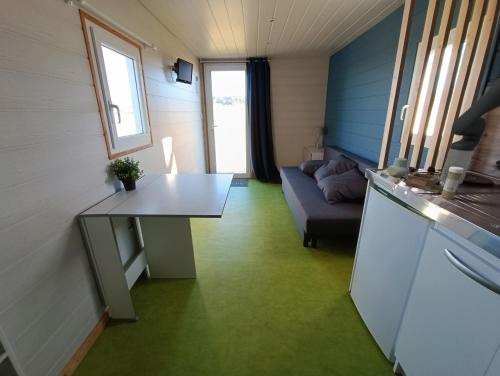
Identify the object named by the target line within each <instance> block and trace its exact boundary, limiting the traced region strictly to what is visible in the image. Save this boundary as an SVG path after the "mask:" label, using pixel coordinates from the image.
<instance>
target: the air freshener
mask: <svg viewBox="0 0 500 376" xmlns="http://www.w3.org/2000/svg"><path fill="white" fill-rule="evenodd" d="M407 162H408V159H407V158H405V157H395V158H394V161H393V164H391V165H389V166H388V167H387V169H386V171H387V174H389V175H390V176H392V177H394V178H404V177H403V176H405V177H407V176H408V175H410V174H411V171H410V169H409V168H408V166H407ZM406 175H407V176H406Z"/></svg>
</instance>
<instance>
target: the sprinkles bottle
mask: <svg viewBox="0 0 500 376" xmlns="http://www.w3.org/2000/svg"><path fill="white" fill-rule="evenodd" d="M463 171H464V169H463V168H460V167H450V168H449V173H448V176H447V179H446V182H444V184H443V186H444V188H443V189H442V191H441V195H440V197H441V198H444V199H447V200H453V199H455V194H456V192H457V190H458V188H459V185H460V184H459V181H460V178H461V175H462V173H463Z"/></svg>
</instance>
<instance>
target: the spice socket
mask: <svg viewBox="0 0 500 376" xmlns="http://www.w3.org/2000/svg"><path fill="white" fill-rule="evenodd" d="M406 177H407V178H406V181H405V185H404V186H406V187H409V188H410V187H411V188H414V189H418V190H422V191H427V192H430V193H435V194H438V193H440V192H441V190H442V191H443V188H444V185H439V184H437V183H438V182H437V181H438V179H439V176H435V175H432V174H425V173H421V172H416V171H415V172H412V173H409V174H408V175H407V176H406Z"/></svg>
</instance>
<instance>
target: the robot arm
mask: <svg viewBox="0 0 500 376" xmlns="http://www.w3.org/2000/svg"><path fill="white" fill-rule="evenodd" d="M498 108H500V77H499V78H498V79H496V81H495V82H494V83H492V85H491V86H490V87H489V88H488V89H487V90H486V91H485V92H484V94H483V95H482V96H481V97H480V98H479V99H477V101H475V102H474V104H473V105H471V106H470V107H469V108H468V109H467V110H465V112H464V113H462V114H461V115H460V116H458V118H456V119H455V121H454V122H453V124H452V126H451V133H452V134H453V135H455V136H461V137H462V138H460V139H459V140H457V141H453V142H452V143H451V144H450V147H449V150H448V153H447V157H446V159H445V163H444V165H443V169H442V171H441V175H440V177H439V181H440V182H444V183H445V182H446V179H447V176H448V173H449V168H450V167H460V168H463V169H464V171H463V173H462V175H461V178H460V181H459V184H458V185H462V184H463V181H464V179H465V177H466V174H467V171H468V168H469V165H470V163H471V159H472V156H473V154H474V151H475V148H476V147H477V146H478V145H479V143H480V141H481V139H482V136H483V135H484V131H485V129H486V126H487V121H486V119H485V118H484V117H482V116H484V115H486V114H487V113H489V112H491V111H493V110H496V109H498ZM495 167H496V168H497V170H498V171H500V159H499V160H497V161H495Z"/></svg>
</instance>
